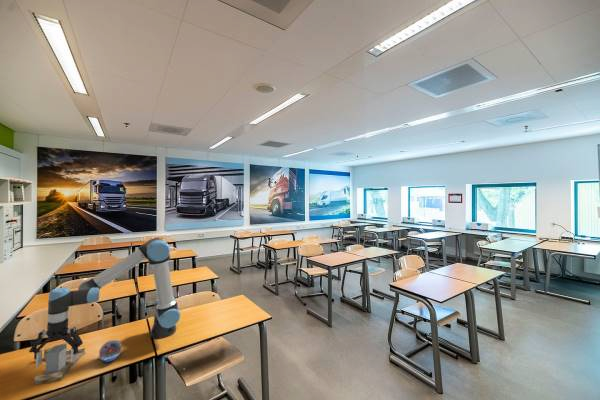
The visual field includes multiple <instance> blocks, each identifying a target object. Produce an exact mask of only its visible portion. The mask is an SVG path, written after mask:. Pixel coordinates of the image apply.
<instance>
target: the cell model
mask: <svg viewBox="0 0 600 400" xmlns="http://www.w3.org/2000/svg"><path fill="white" fill-rule="evenodd" d="M122 346H123V344H121V342H120V341H119V340H117V339H111V340H108V341H107V342H105V343H104V344H103V345H101V347H100V348H99V351H98V353H99V355H98V357H99V359H100V361H102V362H103V363H104V362H105V363H111V362H113V361H114V360H116V359H117V358H118V357H120V356H119V355H120V354H121V352H122Z"/></svg>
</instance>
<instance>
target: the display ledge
mask: <svg viewBox="0 0 600 400" xmlns="http://www.w3.org/2000/svg"><path fill="white" fill-rule="evenodd" d="M71 349H72V348H70V349H67V350H66V366H65V367H64V368H63V369H62V370H61V371H60V372H59V373H52V374H46V375H45V371H43V372H42V373H41V374H40V375H35V376H34V377H33V378H34V381H33V384H34V385H39V384H44V383H45V384H46V383H51V382H59V381H62V380H63V378H64V377H65V376H66V375H67V374H68V373H69V372H70V371H71V370H72V368H73V367H74V366H75V365H76V364H77V363H78V362H79V361H80V360H81V359H82V357H83V356H84V355H85V354H86V347H80V348H79V347H78V352H77V353H76V357H75V360H74V361H73V362H71Z"/></svg>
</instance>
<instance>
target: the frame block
mask: <svg viewBox="0 0 600 400" xmlns="http://www.w3.org/2000/svg"><path fill="white" fill-rule="evenodd" d="M67 344H68V343H67ZM67 344H64V345H60V344H57V345H53V346H54V347H53V346H52V347H53V348H52V349H51V350H50V351H49V352H47V353H46V361H45V375H46V374H52V373H59V372H60V371H61V370H62V369H63V368H64V367H65V366H66V345H67ZM67 346H68V345H67Z"/></svg>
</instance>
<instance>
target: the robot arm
mask: <svg viewBox="0 0 600 400" xmlns="http://www.w3.org/2000/svg"><path fill="white" fill-rule="evenodd" d="M170 254H171V246H170V245H169V244H168V243H167V241H165V240H164V239H162V238H159V237H153V238H151V239H148V240H147V241H145V243H143V244H141V245H140V246H138V247H137V248H136V250H135V251H133V252H131V253H130V254H129V255H127V256H126V257H124V258H122V259H121V260H119V261H117V262H115V263H114V264H113V265H111V266H109V267H108V268H106V269H105V270H103V271H102V272H100V273H98V274H96V275H95V276H93V277H91V278H90V279H89V280H85V281H84V282H82V283H81V284H80V285H79V286H78V289H76V290H71V288H70V287H67V286H66V287H58V288H54V289H51V290H50V291H49V293H48V299H47V302H48V303H47V304H48V305H47V306H48V307H47V325H46V326H47V327H46V329H47V330H45V329H43V330H40V332H39V333H38V336H37V338H36V339H35V341H34V343H33V344H32V346H31V347H30V349H29V351H28V353H30V354H31V353H33V354H34V355H33V356H34V358H33V360H35V368H37V367H39V366H40V365H42V364H43V347H45V345H47V344H48V342H49V341H50V340H51V341H54V340H63V341H64V342H65V343H67V344H68V346H70V347H71V348H70V349H71V362H73V361H74V360H75V357H76V353H77V352H78V348H79V347H81V345H82V344H83V343H84V342H83V339H82V338H81V336H80V335H79V333H78V332H77V328H76V326H74V327H71V328H69V327H68V326H69V317H70V316H69V315H70V312H69V311H70V307H74V306H79V305H86V304H92V303H97V302H98V301H100V289H102V288H103V287H105V286H106V285H108V284H110V283H112V281H115V280H116V279H117V278H119V277H120V276H122V275H123V274H125V273H127V272H128V271H129V270H131V269H133V268H134V267H136V266H137V265H139V264H140V263H142V262H143V261H147V262H148V265H149V266H151V268H152V274H153V278H154V285H155V292H156V296H157V297H156V299H155V300H154V305H153V306H154V310H153V312H154V313H153V315H154V316H153V323H152V326H151V329H150V332H149V333H150V334H149V335H150V337H151V338H152V339H164V338H167V337H170V336H171V335H174V334H175V333H176V331H177V325H176V324H178V322H179V321H180V319H181V312H180V310H179V305H178V300H177V299H176V298H175V296H174V291H173V285H172V280H171V279H172V278H171V272H170V266H169V262H170V260H171V256H170ZM45 335H46V336H47V338H46V339H45V340H44V341H43V342H42V343H41V341H42V339H43V338H44V336H45ZM40 343H41V344H40ZM39 344H40V345H39ZM72 347H73V348H72Z"/></svg>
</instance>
